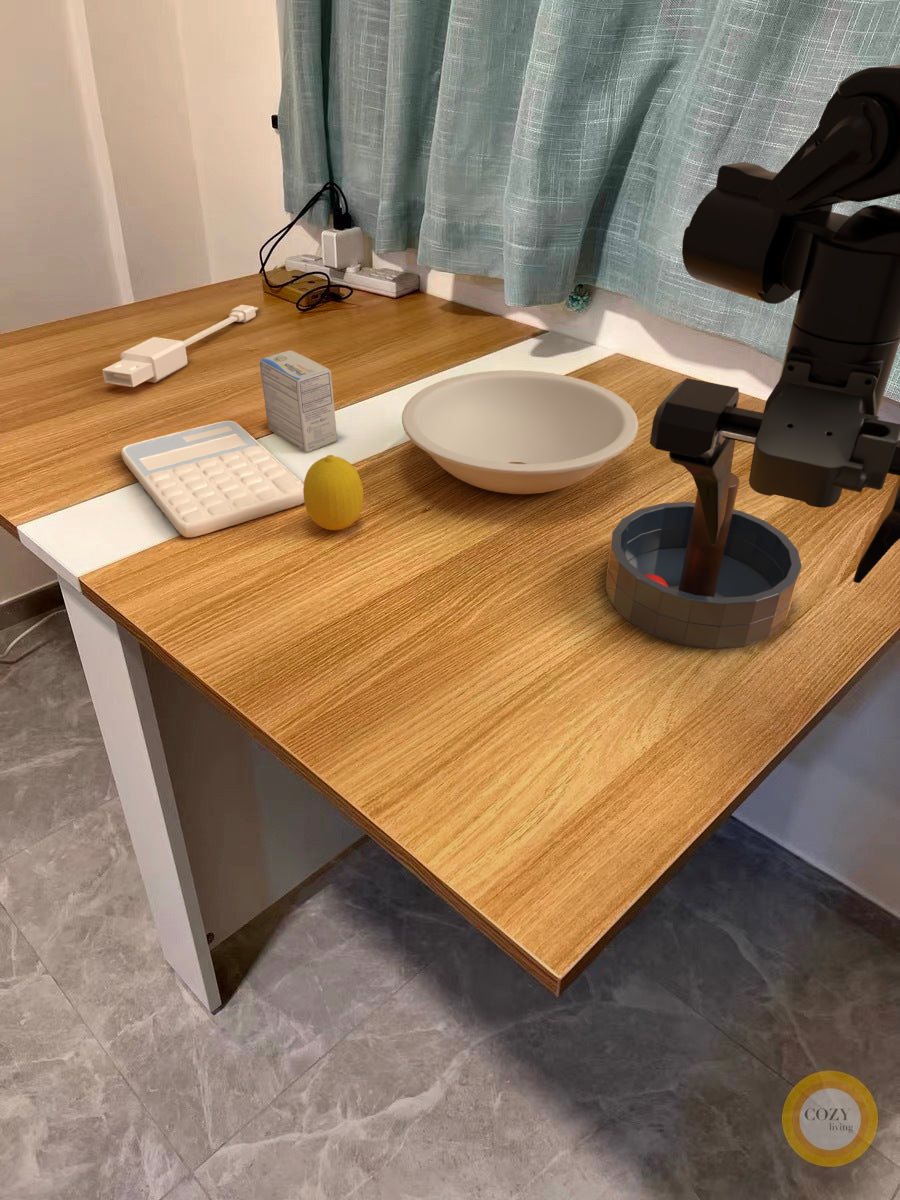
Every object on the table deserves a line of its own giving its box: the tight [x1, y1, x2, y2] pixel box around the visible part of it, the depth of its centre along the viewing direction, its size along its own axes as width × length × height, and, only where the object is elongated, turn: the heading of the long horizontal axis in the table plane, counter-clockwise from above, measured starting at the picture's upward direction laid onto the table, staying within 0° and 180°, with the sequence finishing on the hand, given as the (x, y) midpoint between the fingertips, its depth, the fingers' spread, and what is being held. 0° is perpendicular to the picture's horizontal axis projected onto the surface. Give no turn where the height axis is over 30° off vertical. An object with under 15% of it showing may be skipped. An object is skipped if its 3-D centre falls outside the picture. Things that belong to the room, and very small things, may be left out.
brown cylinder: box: [679, 472, 740, 597], centre depth 73 cm, size 3×3×11 cm
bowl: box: [605, 501, 803, 650], centre depth 75 cm, size 15×15×5 cm
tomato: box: [644, 574, 668, 587], centre depth 73 cm, size 3×3×3 cm
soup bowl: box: [401, 369, 639, 495], centre depth 92 cm, size 24×24×7 cm
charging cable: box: [101, 304, 259, 388], centre depth 122 cm, size 5×32×3 cm, turn 160°
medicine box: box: [259, 349, 338, 453], centre depth 98 cm, size 8×4×9 cm, turn 41°
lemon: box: [303, 454, 365, 532], centre depth 82 cm, size 6×6×8 cm
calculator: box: [120, 420, 305, 538], centre depth 92 cm, size 13×20×2 cm, turn 34°
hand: (783, 560), depth 58 cm, fingers open, 9 cm apart
